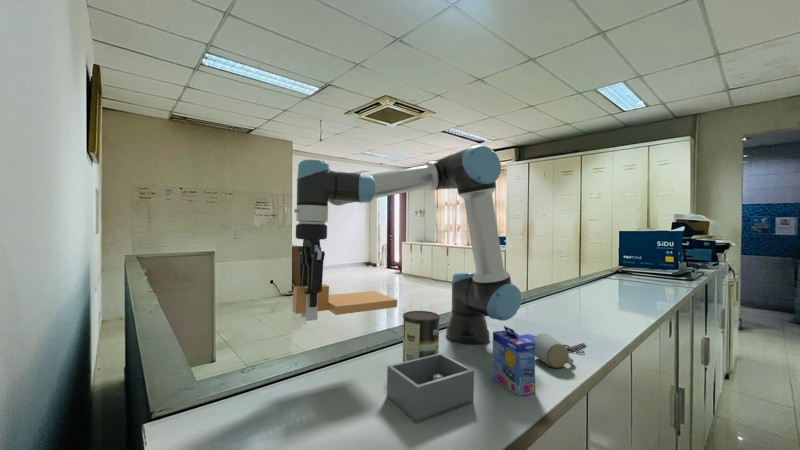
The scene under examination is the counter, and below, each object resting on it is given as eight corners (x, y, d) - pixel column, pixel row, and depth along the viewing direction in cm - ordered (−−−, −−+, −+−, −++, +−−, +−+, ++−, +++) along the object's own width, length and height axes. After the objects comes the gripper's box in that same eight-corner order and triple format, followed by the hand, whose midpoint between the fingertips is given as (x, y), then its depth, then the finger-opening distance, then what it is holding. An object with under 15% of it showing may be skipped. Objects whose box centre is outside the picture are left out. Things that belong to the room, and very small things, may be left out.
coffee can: (439, 359, 95) (441, 311, 96) (436, 375, 85) (438, 321, 85) (405, 356, 97) (406, 309, 98) (398, 370, 87) (399, 318, 88)
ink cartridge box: (490, 378, 84) (491, 322, 84) (507, 375, 86) (509, 320, 86) (517, 397, 75) (518, 334, 75) (535, 393, 77) (537, 332, 77)
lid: (373, 297, 98) (374, 277, 98) (397, 307, 86) (397, 284, 87) (287, 306, 84) (288, 283, 84) (302, 319, 73) (302, 292, 73)
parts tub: (440, 380, 82) (440, 353, 82) (473, 402, 72) (474, 370, 72) (386, 396, 74) (387, 365, 74) (416, 423, 64) (417, 387, 64)
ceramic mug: (547, 370, 90) (548, 342, 90) (530, 358, 98) (531, 333, 98) (580, 369, 92) (581, 341, 92) (561, 357, 100) (562, 332, 100)
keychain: (600, 349, 108) (600, 344, 108) (570, 360, 98) (571, 355, 98) (576, 342, 115) (576, 337, 115) (547, 352, 105) (547, 347, 105)
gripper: (288, 222, 85) (285, 312, 85) (306, 222, 72) (303, 329, 72) (316, 223, 89) (313, 309, 89) (338, 223, 76) (335, 324, 76)
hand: (309, 317), depth 80 cm, fingers closed on lid, 3 cm apart
